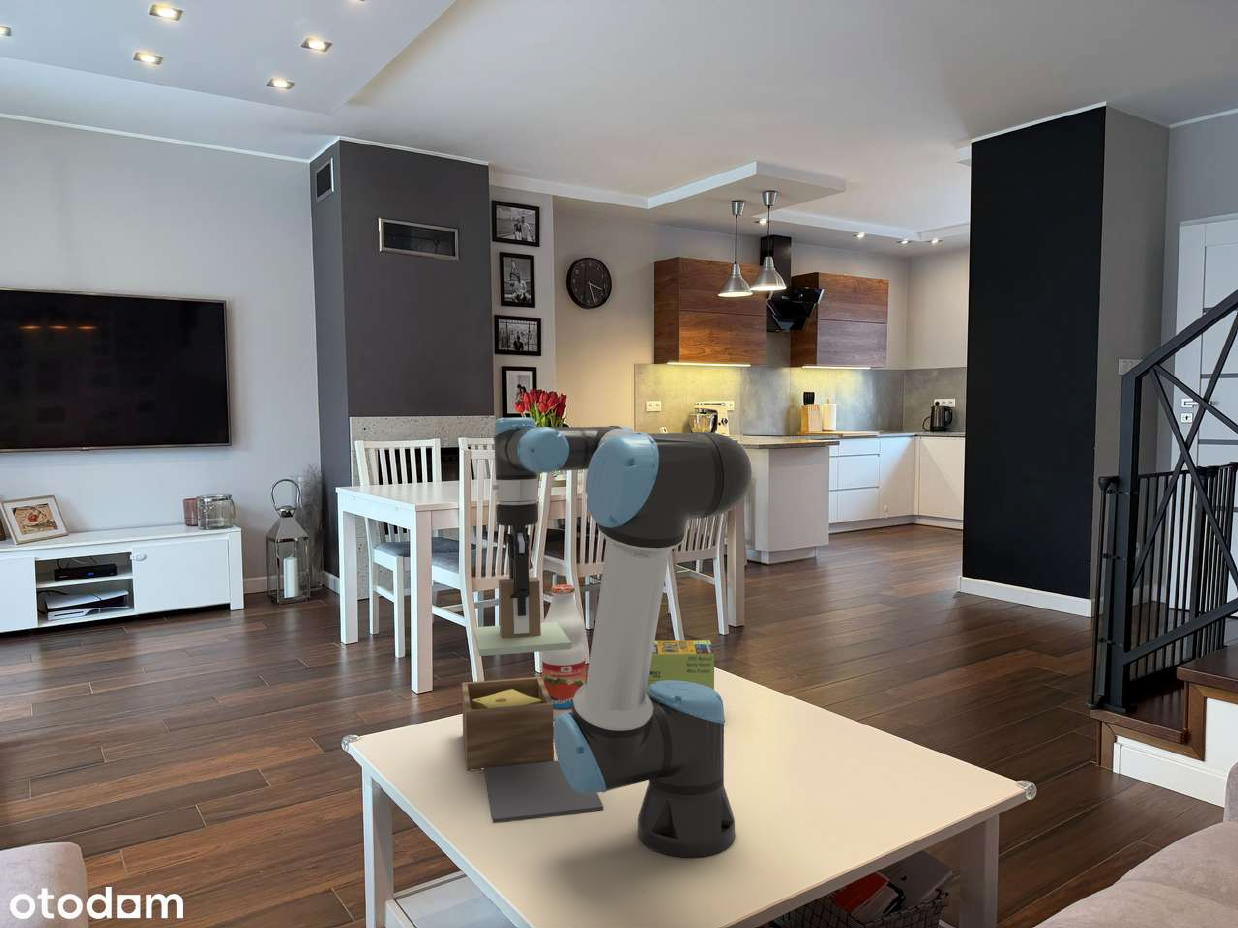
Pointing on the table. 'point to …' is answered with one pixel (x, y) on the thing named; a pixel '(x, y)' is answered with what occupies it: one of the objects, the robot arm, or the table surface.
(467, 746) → the box
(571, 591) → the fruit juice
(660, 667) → the protein box
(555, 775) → the mat
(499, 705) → the cheese
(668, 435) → the robot arm
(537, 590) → the lid
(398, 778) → the table surface
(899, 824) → the table surface
